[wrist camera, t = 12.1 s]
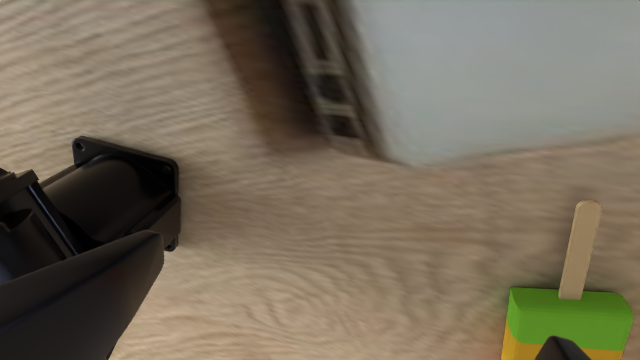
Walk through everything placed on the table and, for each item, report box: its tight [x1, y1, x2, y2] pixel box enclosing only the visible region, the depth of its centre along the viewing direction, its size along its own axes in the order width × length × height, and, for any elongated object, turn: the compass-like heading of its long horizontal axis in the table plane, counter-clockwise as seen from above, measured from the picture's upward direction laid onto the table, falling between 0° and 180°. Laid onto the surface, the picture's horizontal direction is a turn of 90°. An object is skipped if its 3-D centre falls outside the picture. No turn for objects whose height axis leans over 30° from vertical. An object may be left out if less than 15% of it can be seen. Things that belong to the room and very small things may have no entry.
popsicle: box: [501, 200, 634, 360], centre depth 21 cm, size 6×15×2 cm, turn 6°
